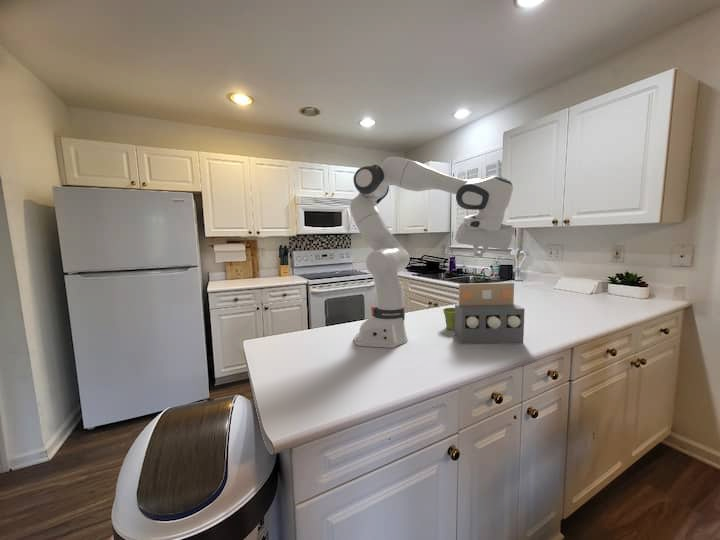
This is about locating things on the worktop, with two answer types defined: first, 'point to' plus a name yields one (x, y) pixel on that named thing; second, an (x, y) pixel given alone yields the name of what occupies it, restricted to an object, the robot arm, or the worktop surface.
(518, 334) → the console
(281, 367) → the worktop surface
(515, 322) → the right button
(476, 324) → the left button
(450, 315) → the plant pot
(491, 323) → the middle button
